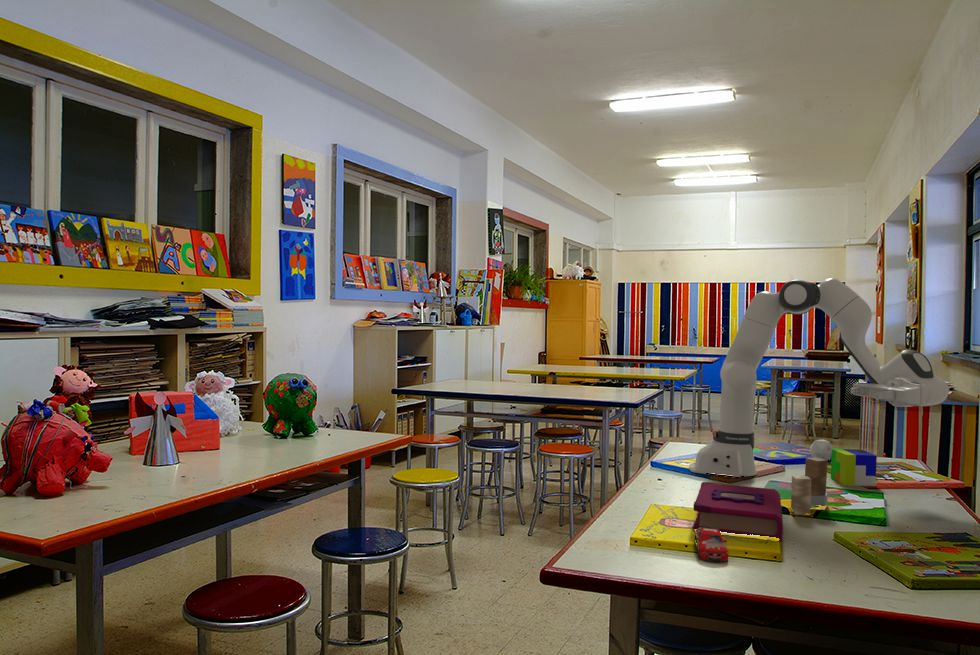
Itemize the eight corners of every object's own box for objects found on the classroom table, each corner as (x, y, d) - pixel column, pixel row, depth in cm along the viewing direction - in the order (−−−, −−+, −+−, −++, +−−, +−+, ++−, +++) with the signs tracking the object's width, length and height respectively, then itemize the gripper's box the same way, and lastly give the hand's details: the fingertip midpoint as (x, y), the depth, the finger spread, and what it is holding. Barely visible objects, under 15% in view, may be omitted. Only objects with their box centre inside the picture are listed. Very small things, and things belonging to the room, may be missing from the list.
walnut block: (814, 496, 206) (816, 460, 205) (803, 492, 209) (805, 457, 209) (825, 495, 207) (827, 460, 207) (814, 491, 211) (816, 457, 210)
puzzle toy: (875, 486, 236) (876, 455, 235) (844, 485, 236) (845, 454, 236) (860, 479, 246) (861, 449, 245) (830, 478, 246) (831, 448, 246)
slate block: (797, 508, 207) (798, 494, 207) (801, 503, 213) (801, 489, 213) (824, 512, 204) (824, 498, 204) (827, 506, 210) (827, 493, 210)
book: (779, 514, 201) (780, 487, 201) (782, 544, 175) (783, 513, 174) (700, 505, 208) (701, 479, 208) (692, 533, 182) (692, 503, 182)
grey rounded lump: (807, 462, 274) (822, 445, 269) (802, 447, 282) (817, 430, 276) (827, 470, 275) (842, 453, 270) (821, 455, 282) (836, 438, 277)
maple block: (794, 514, 199) (796, 478, 199) (790, 510, 203) (791, 475, 203) (810, 515, 199) (811, 479, 199) (805, 511, 203) (806, 476, 203)
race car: (730, 566, 158) (730, 544, 158) (698, 563, 160) (698, 541, 160) (722, 543, 174) (723, 522, 174) (693, 540, 176) (694, 520, 175)
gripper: (873, 378, 231) (838, 379, 227) (930, 385, 212) (893, 385, 207) (873, 398, 231) (838, 399, 227) (929, 406, 212) (892, 408, 208)
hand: (864, 392), depth 217 cm, fingers open, 8 cm apart
